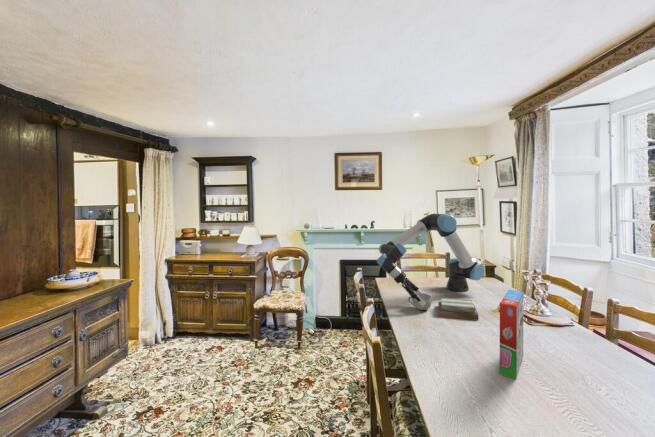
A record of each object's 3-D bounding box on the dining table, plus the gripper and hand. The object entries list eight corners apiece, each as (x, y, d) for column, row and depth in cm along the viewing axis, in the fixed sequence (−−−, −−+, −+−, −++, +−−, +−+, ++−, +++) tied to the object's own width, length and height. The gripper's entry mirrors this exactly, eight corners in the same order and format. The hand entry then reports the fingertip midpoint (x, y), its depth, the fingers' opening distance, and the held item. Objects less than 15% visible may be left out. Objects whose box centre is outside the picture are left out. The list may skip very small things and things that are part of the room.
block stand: (438, 306, 184) (438, 296, 184) (474, 309, 177) (474, 299, 177) (439, 316, 167) (439, 306, 167) (478, 320, 160) (478, 309, 160)
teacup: (429, 305, 183) (429, 292, 183) (433, 311, 173) (433, 298, 172) (406, 305, 185) (406, 292, 185) (409, 311, 174) (409, 298, 174)
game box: (508, 352, 126) (508, 289, 125) (523, 356, 122) (523, 291, 121) (499, 374, 110) (499, 302, 108) (516, 379, 106) (517, 305, 105)
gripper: (395, 274, 195) (420, 299, 190) (390, 283, 173) (419, 312, 168) (403, 267, 193) (429, 292, 188) (400, 275, 171) (428, 304, 166)
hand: (424, 301), depth 178 cm, fingers closed on teacup, 11 cm apart
